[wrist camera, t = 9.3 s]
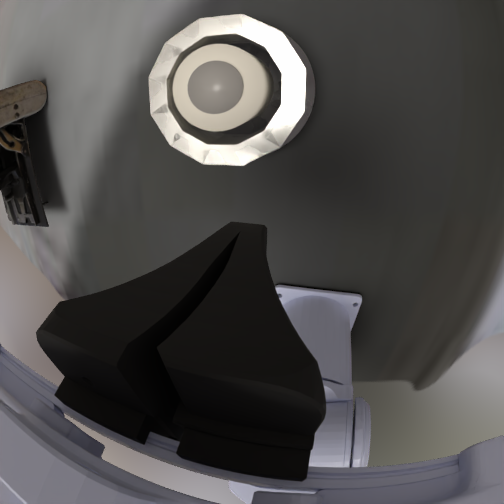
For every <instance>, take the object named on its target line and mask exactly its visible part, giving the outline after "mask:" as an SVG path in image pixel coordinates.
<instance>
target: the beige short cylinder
mask: <svg viewBox="0 0 504 504" xmlns="http://www.w3.org/2000/svg"><path fill="white" fill-rule="evenodd" d="M273 92H274V81H273V77H272V74H271V72H270V70H269V68H268V67H267V66H266V64H265V63H264V62H263V61H261V60H260V59H259V58H257V57H255V56H254V55H252V54H250V53H248V52H246V51H244V50H242V49H240V48H238V47H235V46H232V45H228V44H211V45H207V46H204V47H201V48H199V49H197V50H195V51H194V52H192V53H191V54H189V55H188V56H187V57H186V58H185V59H184V60H183V62H182V63H181V64H180V66H179V67H178V69H177V71H176V74H175V77H174V80H173V98H174V102H175V104H176V107H177V109H178V110H179V112H180V113H181V115H182V116H183V117H184V118H185V119H186V120H187V121H188V122H189V123H191V124H192V125H194V126H196V127H198V128H200V129H203V130H207V131H225V130H229V129H233V128H235V127H237V126H239V125H241V124H243V123H245V122H247V121H249V120H251V119H253V118H255V117H256V116H258V115H259V114H261V113H262V112H263V111H264V110H265V109H266V108H267V106H268V105H269V103H270V101H271V99H272V96H273Z"/></svg>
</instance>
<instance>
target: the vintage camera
mask: <svg viewBox="0 0 504 504" xmlns="http://www.w3.org/2000/svg"><path fill="white" fill-rule="evenodd" d="M46 99H47V92H46V86H45V85H44V84H43V83H41V82H40V81H37V80H33V81H29V82H25V83H21V84H18V85H15V86H12V87H9V88H6V89H3V90H0V190H1V192H2V195H3V200H4V204H5V208H6V213H7V214H8V218H9V220H10V221H12V224H13V225H15V224H18V225H29V226H43V227H49V225H48V222H47V218H46V215H45V212H44V208H43V205H44V204H46V203H48V202H45V203H42V201H41V197H40V193H39V189H38V185H37V181H36V176H35V172H34V168H33V164H32V159H31V155H30V150H29V144H28V138H27V131H26V126H25V121H24V118H26V117H28V116H30V115H32V114H34V113H36V112H38V111H39V110H41V109H42V107H43V106H44V104H45V102H46Z"/></svg>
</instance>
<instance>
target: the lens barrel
mask: <svg viewBox="0 0 504 504" xmlns="http://www.w3.org/2000/svg"><path fill="white" fill-rule="evenodd" d="M211 44H228V45H232V46H235V47H238V48H240V49H242V50H244V51H246V52H248V53H250V54H252V55H254V56H255V57H257V58H259V59H260V60H261V61H263V62H264V63H265V64H266V66H267V67H268V68H269V70H270V72H271V74H272V77H273V81H274V92H273V96H272V99H271V101H270V103H269V105H268V106H267V108H266V109H265V110H264V111H263V112H262V113H261V114H259V115H258V116H256V117H255V118H253V119H251V120H249V121H247V122H245V123H243V124H241V125H239V126H237V127H235V128H233V129H229V130H225V131H207V130H203V129H200V128H198V127H196V126H194V125H192V124H191V123H189V122H188V121H187V120H186V119H185V118H184V117H183V116H182V115H181V113H180V112H179V110H178V109H177V107H176V104H175V102H174V98H173V80H174V77H175V74H176V71H177V69H178V67H179V66H180V64H181V63H182V62H183V60H184V59H185V58H186V57H187V56H188V55H189V54H191V53H192V52H194V51H195V50H197V49H199V48H201V47H204V46H207V45H211ZM149 94H150V110H151V115H152V117H153V119H154V120H155V122H156V123H157V125H158V127H159V128H160V130H161V131H162V133H163V135H164V136H165V138H166V139H167V141H168V143H169V144H170V146H172V147H174V148H176V149H178V150H179V151H181V152H183V153H185V154H186V155H188V156H190V157H192V158H193V159H195V160H197V161H198V162H200V163H202V164H215V165H239V166H243V165H245V164H247V163H249V162H251V161H253V160H255V159H257V158H259V157H261V156H263V155H266V154H269V153H271V152H274V151H276V150H278V149H279V148H281V147H283V146H284V145H286V144H287V143H288V142H290V141H291V140H292V139H293V138H294V137H295V136H296V135H297V134H298V133H299V132H300V130H301V129H302V128H303V127H304V125H305V123H306V122H307V120H308V118H309V116H310V113H311V111H312V108H313V104H314V99H315V79H314V73H313V70H312V67H311V64H310V62H309V60H308V58H307V56H306V54H305V53H304V51H303V50H302V49H301V47H300V46H299V45H298V44H297V43H296V42H295V41H294V40H293V39H292V38H291V37H289V36H288V35H287V34H286V33H284V32H282V31H280V30H279V29H277V28H275V27H272V26H270V25H267V24H264V23H262V22H260V21H258V20H255V19H253V18H251V17H248V16H246V15H243V14H237V15H226V16H217V17H209V18H202V19H198V20H197V21H195V22H194V23H192V24H191V25H189V26H188V27H186V28H185V29H184V30H182V31H181V32H179V33H178V34H177V35H175V36H174V37H172V38H171V39H170V40H168V41H167V42H166V43H165V45H164V47H163V49H162V51H161V53H160V55H159V57H158V59H157V61H156V63H155V65H154V67H153V69H152V71H151V73H150V76H149Z"/></svg>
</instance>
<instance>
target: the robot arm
mask: <svg viewBox="0 0 504 504" xmlns="http://www.w3.org/2000/svg"><path fill="white" fill-rule="evenodd" d="M266 247H267V228H266V226H265V225H259V224H249V223H239V222H230V223H228V224H227V225H225V226H224V227H223V228H221V229H220V230H218V231H217V232H216V233H214V234H213V235H211V236H210V237H208V238H207V239H206V240H204V241H203V242H201V243H200V244H198V245H197V246H195V247H194V248H192V249H191V250H189V251H187V252H186V253H184V254H183V255H181V256H180V257H178V258H176V259H175V260H173V261H171V262H169V263H167V264H166V265H164V266H162V267H160V268H158V269H156V270H154V271H152V272H150V273H148V274H145V275H143V276H141V277H138V278H136V279H134V280H131V281H129V282H127V283H124V284H121V285H119V286H116V287H113V288H110V289H107V290H104V291H101V292H98V293H94V294H91V295H87V296H83V297H78V298H74V299H70V300H66V301H61V302H59V303H58V304H57V306H56V307H55V308H54V309H53V311H52V312H51V313H50V314H49V316H48V317H47V318H46V320H45V321H44V322H43V324H42V325H41V326H40V328H39V329H38V330H37V332H36V335H37V341H38V343H39V344H40V346H41V348H42V349H43V351H44V352H45V353H46V355H47V356H48V357H49V358H50V360H51V361H52V362H53V363H54V365H55V366H56V367H57V368H58V369H59V370H60V371H61V373H62V374H63V375H64V376H65V377H64V379H63V381H62V383H61V384H60V386H59V387H58V386H56V385H55V384H53V383H52V382H50V381H48V380H47V379H45V378H44V377H42V376H41V375H39V374H38V373H36V372H35V371H33V370H32V369H31V368H29V367H28V366H27V365H25V364H24V363H22V362H21V361H20V360H18V359H17V358H16V357H14V356H13V355H12V354H10V353H9V352H8V351H7V350H5V349H4V348H3V347H2V346H1V344H0V504H219V503H215V502H210V501H207V500H203V499H199V498H196V497H192V496H189V495H186V494H183V493H180V492H177V491H174V490H171V489H168V488H165V487H162V486H160V485H157V484H155V483H152V482H150V481H147V480H145V479H143V478H140V477H138V476H136V475H133V474H131V473H129V472H127V471H125V470H123V469H120V468H118V467H116V466H114V465H112V464H110V463H109V462H107V461H105V460H103V459H102V457H101V455H102V453H103V451H104V448H105V447H104V445H103V444H101V443H100V442H98V441H97V440H95V439H94V438H92V437H91V436H89V435H88V434H86V433H85V432H83V431H82V430H81V429H79V428H78V427H77V426H76V425H74V424H73V423H72V422H70V421H69V420H68V419H66V418H65V417H64V413H65V414H66V415H68V416H70V417H71V418H73V419H75V420H76V421H78V422H80V423H81V424H83V425H85V426H87V427H88V428H90V429H92V430H94V431H96V432H98V433H99V434H101V435H103V436H105V437H107V438H109V439H111V440H114V441H116V442H117V443H120V444H122V445H124V446H126V447H128V448H131V449H133V450H135V451H138V452H140V453H142V454H145V455H147V456H150V457H152V458H155V459H158V460H160V461H163V462H166V463H169V464H172V465H174V466H177V467H180V468H184V469H187V470H190V471H194V472H197V473H201V474H204V475H208V476H212V477H216V478H220V479H224V480H228V482H229V489H230V491H231V492H233V493H234V494H235V495H236V496H237V497H238V498H239V499H241V500H242V501H243V502H244V503H246V504H504V436H499V437H496V438H493V439H489V440H486V441H483V442H480V443H477V444H475V445H473V446H470V447H469V448H467V449H465V450H463V451H462V452H460V454H457V455H453V456H448V457H444V458H438V459H434V460H428V461H422V462H415V463H408V464H399V465H390V466H377V467H367V464H368V459H369V450H370V435H371V416H370V415H371V414H370V406H369V404H368V403H367V402H366V401H364V399H363V398H362V397H359V398H355V409H354V417H353V385H352V362H351V333H350V332H351V330H352V327H353V324H354V322H355V319H356V316H357V314H358V311H359V308H360V305H361V302H362V296H361V295H360V294H353V293H344V292H335V291H327V290H318V289H310V288H302V287H294V286H286V285H277V286H274V283H273V280H272V277H271V274H270V270H269V266H268V262H267V257H266ZM278 294H281V295H278ZM354 303H356V304H354ZM350 457H351V459H350Z"/></svg>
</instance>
